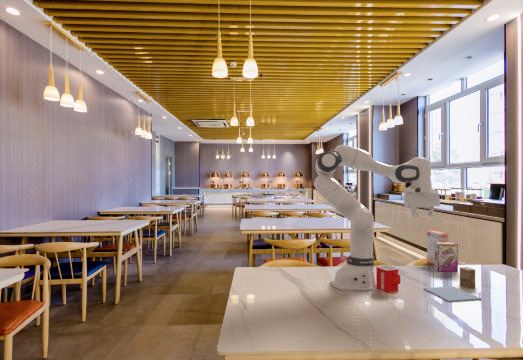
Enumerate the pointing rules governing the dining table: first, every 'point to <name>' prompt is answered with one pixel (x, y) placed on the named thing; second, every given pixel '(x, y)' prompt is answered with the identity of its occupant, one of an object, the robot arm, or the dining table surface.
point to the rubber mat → (452, 294)
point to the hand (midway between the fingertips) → (422, 216)
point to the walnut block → (467, 277)
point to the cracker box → (431, 239)
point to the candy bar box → (446, 257)
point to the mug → (387, 278)
